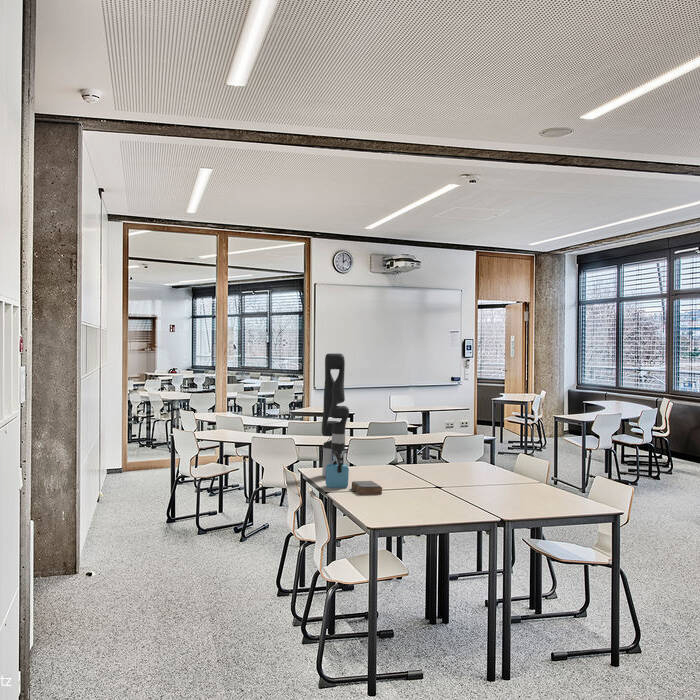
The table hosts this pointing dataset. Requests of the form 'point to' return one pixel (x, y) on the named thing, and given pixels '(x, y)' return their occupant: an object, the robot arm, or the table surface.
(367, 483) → the stand
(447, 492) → the table surface
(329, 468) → the blue rectangular block
